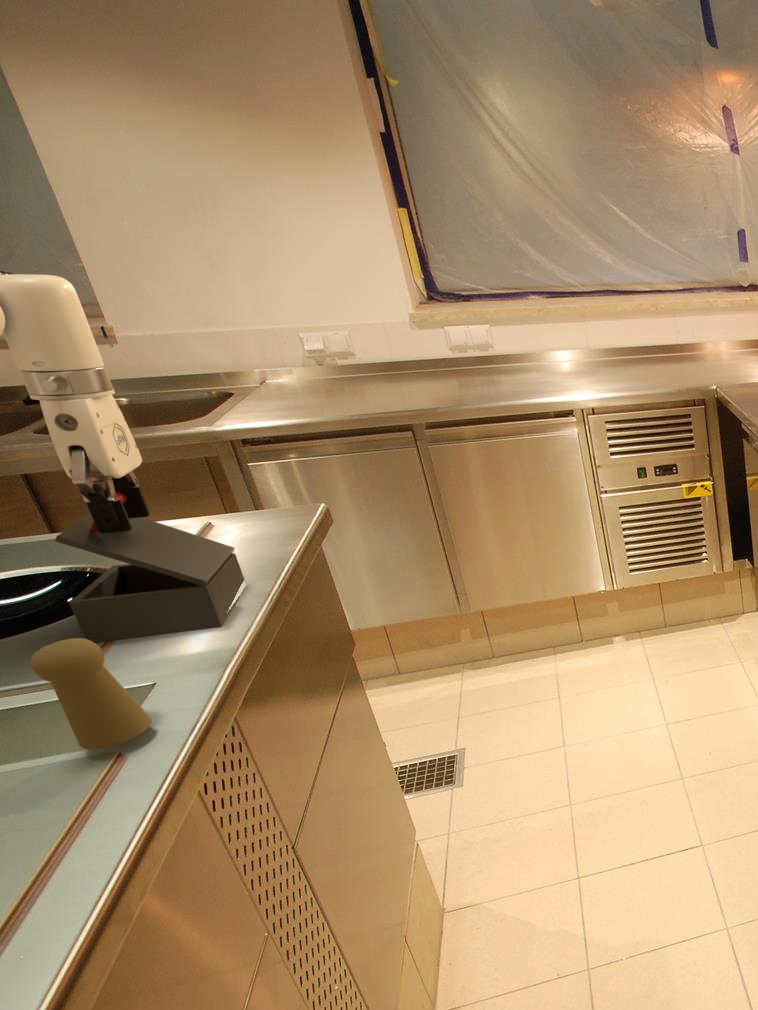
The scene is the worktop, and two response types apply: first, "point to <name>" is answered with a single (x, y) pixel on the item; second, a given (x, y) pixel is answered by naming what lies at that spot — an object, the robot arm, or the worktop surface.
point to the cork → (90, 694)
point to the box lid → (151, 547)
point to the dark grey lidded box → (154, 603)
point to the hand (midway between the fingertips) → (125, 523)
